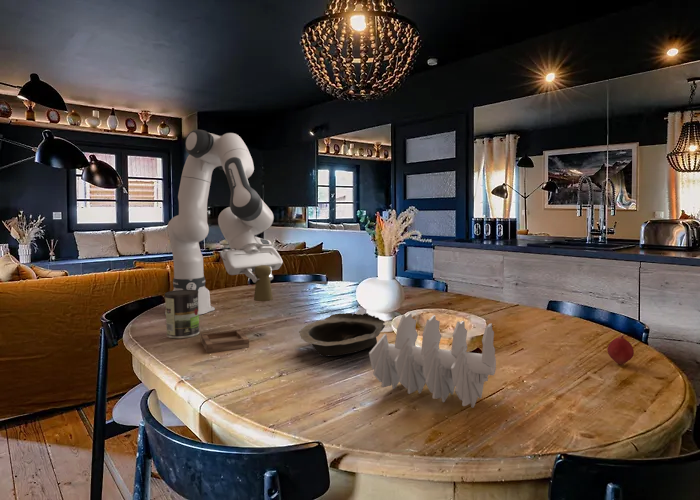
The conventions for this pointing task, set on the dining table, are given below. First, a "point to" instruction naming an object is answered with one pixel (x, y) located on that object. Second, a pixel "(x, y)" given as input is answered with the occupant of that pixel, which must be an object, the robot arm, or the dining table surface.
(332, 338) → the stone bowl
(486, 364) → the spiral staircase
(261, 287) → the cork
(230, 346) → the walnut socket block
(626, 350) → the onion
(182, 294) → the coffee can
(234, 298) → the dining table surface
